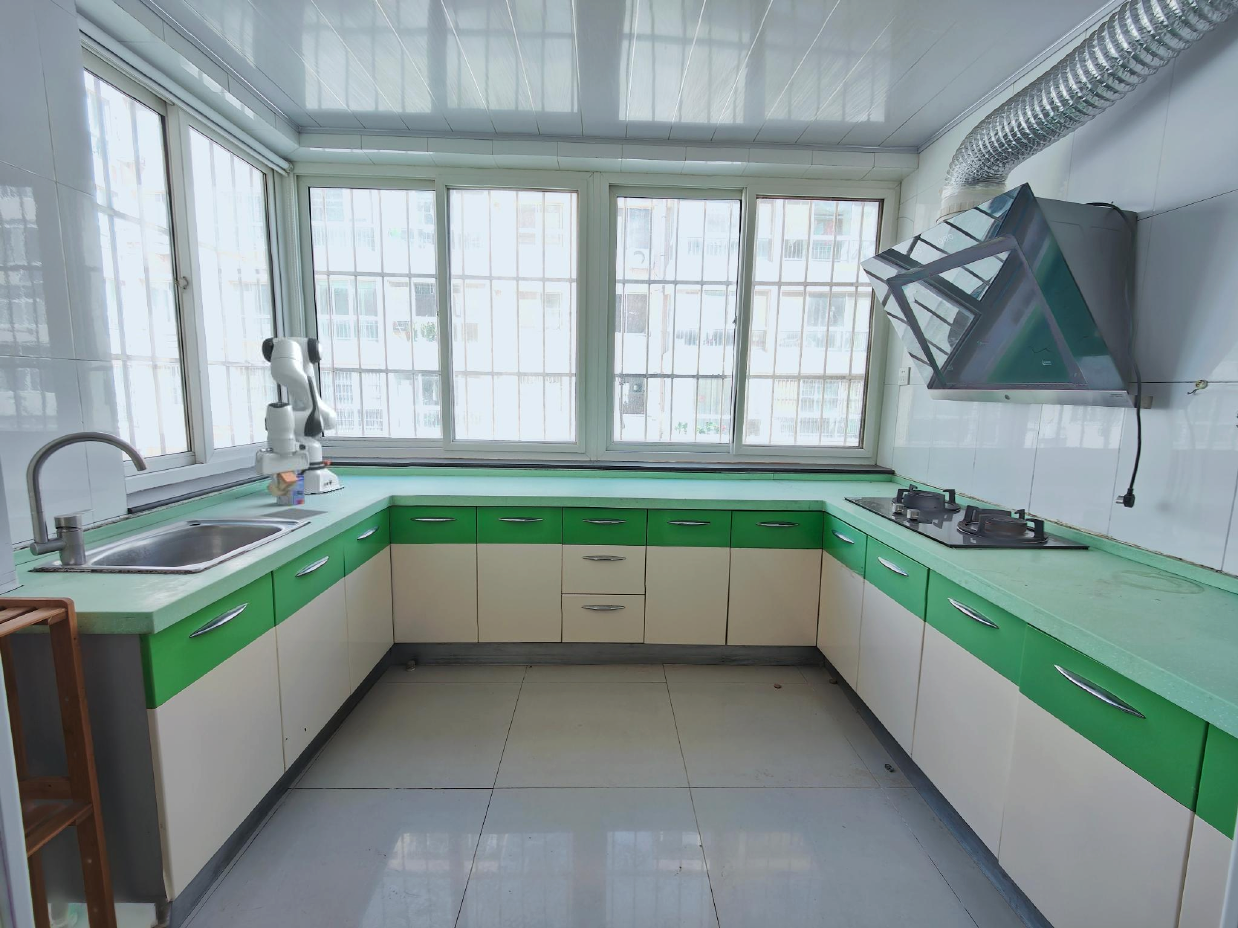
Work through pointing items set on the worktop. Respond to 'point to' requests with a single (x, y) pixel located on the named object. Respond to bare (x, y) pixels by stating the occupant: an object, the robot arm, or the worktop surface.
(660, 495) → the worktop surface
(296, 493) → the ink cartridge box
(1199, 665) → the worktop surface
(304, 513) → the rubber mat
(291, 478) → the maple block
